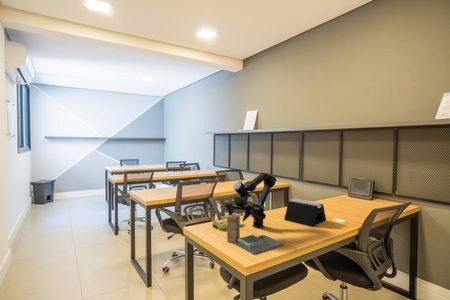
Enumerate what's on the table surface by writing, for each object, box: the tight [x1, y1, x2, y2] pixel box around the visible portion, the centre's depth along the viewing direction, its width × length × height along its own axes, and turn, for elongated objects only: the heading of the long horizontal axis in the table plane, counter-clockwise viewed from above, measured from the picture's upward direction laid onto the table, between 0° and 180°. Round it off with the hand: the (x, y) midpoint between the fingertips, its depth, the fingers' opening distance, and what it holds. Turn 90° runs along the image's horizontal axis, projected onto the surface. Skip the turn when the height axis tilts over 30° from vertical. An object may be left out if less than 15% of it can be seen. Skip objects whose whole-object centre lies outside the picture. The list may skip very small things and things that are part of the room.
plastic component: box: [211, 212, 239, 231], centre depth 178 cm, size 20×7×10 cm
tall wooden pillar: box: [226, 213, 241, 244], centre depth 149 cm, size 6×6×15 cm
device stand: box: [284, 198, 327, 228], centre depth 191 cm, size 22×22×15 cm
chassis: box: [235, 234, 284, 255], centre depth 144 cm, size 22×16×3 cm
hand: (236, 220), depth 153 cm, fingers open, 9 cm apart
